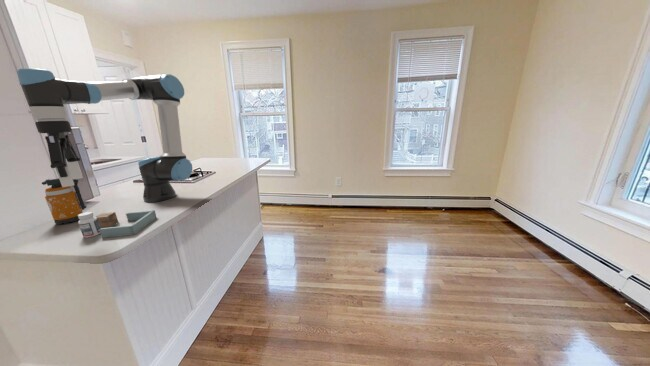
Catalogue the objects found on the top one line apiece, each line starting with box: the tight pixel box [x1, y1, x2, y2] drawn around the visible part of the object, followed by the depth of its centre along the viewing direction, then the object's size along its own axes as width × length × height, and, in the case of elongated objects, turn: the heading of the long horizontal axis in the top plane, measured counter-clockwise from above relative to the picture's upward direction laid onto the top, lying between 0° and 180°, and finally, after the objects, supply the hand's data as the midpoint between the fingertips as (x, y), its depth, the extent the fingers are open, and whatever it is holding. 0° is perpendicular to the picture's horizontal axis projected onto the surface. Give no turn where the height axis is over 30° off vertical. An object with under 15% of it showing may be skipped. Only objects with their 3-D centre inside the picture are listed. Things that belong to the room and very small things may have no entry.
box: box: [100, 209, 157, 239], centre depth 95 cm, size 16×11×4 cm
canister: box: [41, 177, 88, 225], centre depth 102 cm, size 9×11×20 cm
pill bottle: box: [77, 211, 101, 239], centre depth 89 cm, size 5×5×9 cm
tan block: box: [95, 211, 119, 228], centre depth 97 cm, size 5×5×5 cm
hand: (73, 182), depth 82 cm, fingers open, 13 cm apart
